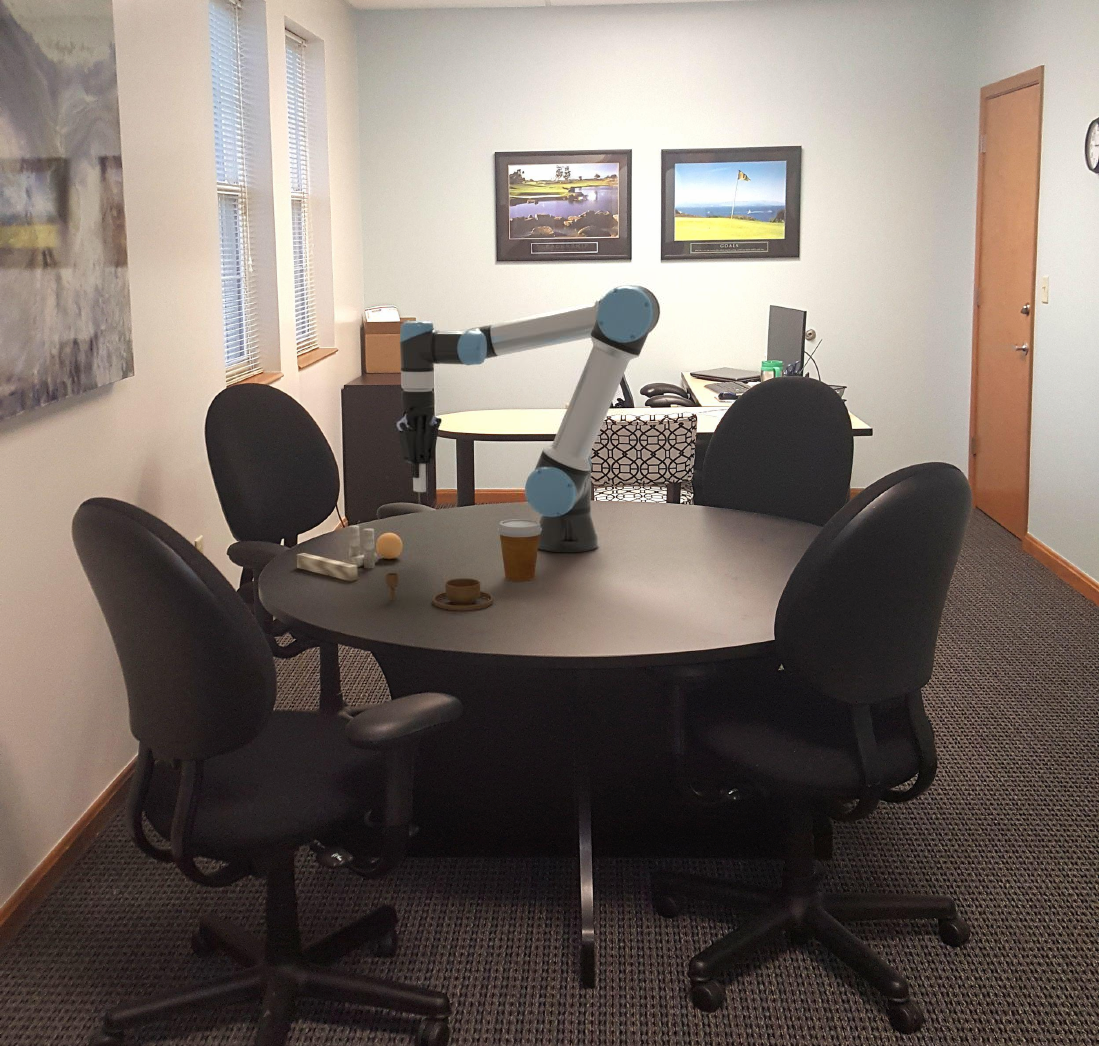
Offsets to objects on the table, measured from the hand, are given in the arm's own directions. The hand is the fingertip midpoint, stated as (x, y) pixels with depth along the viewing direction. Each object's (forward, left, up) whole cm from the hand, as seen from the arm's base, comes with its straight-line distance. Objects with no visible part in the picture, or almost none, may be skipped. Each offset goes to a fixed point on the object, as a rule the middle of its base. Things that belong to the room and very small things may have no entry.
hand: (419, 491), depth 276 cm
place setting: (-35, +26, -15) cm, 46 cm away
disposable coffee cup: (-34, +3, -15) cm, 37 cm away
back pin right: (+3, +18, -14) cm, 23 cm away
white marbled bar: (0, +28, -14) cm, 31 cm away
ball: (0, +10, -11) cm, 15 cm away
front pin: (0, +14, -13) cm, 20 cm away
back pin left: (-2, +18, -14) cm, 23 cm away
